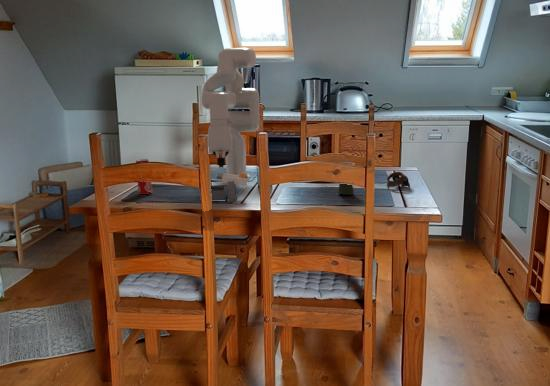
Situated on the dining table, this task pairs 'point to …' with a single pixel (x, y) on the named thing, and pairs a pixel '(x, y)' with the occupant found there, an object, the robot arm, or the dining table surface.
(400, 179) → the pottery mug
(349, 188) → the character mug
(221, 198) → the cup
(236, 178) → the seesaw trough
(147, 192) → the beverage can
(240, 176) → the ball
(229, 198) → the catapult stand
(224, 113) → the robot arm
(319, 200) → the dining table surface
